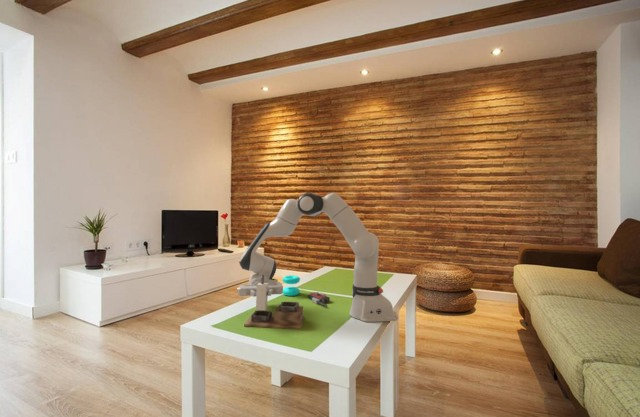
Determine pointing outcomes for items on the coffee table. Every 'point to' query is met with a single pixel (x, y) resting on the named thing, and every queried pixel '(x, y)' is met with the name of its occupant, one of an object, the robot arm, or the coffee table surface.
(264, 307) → the plug
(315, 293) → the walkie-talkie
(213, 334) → the coffee table surface
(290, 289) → the donuts
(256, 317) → the brown wooden stepped base
